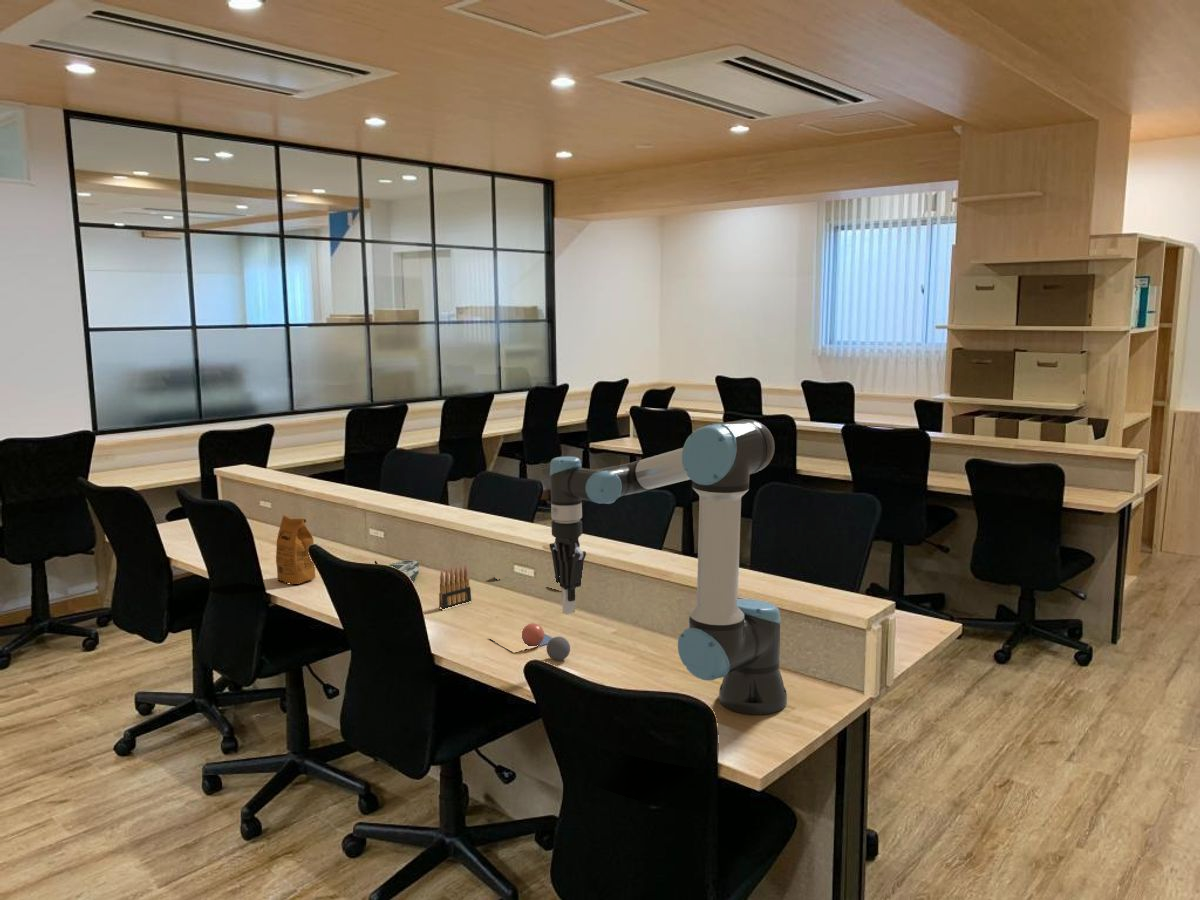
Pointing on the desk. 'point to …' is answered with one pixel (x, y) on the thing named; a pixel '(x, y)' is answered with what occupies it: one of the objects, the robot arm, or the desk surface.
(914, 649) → the desk surface
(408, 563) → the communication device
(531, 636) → the object ball
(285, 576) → the coffee package
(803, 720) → the desk surface
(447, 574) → the ammunition clip
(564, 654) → the gray ball
